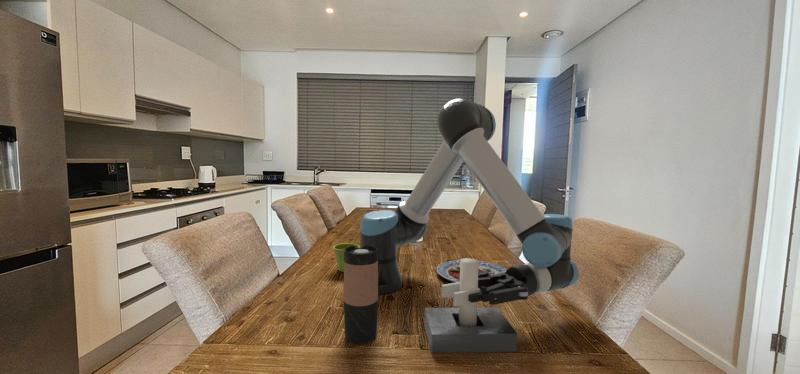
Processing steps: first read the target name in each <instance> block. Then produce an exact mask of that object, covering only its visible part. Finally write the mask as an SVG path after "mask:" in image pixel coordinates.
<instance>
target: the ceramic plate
mask: <svg viewBox="0 0 800 374" xmlns="http://www.w3.org/2000/svg"><path fill="white" fill-rule="evenodd" d="M460 260H461V259H454V260H448V261H445V262H441V263H440V264H438V265H437V267H436V272H437V274H438V275H440V276H441V277H442V278H444V279H446V280H448V281H451V282H452V283H455V282H460ZM478 261H479V265H478V273H481V272H485V271H486V270H490V271H491V274H493V275H496V274H499V273H505V272H506V271H507V269H508V268H506V267H504V266H502V265H499V264H497V263H493V262H489V261H484V260H478Z"/></svg>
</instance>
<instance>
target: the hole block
mask: <svg viewBox="0 0 800 374" xmlns="http://www.w3.org/2000/svg"><path fill="white" fill-rule="evenodd" d="M423 321H424V327H425V331H426V336H427V340H428V345H429V348H430V353H431V354H439V353H440V354H441V353H442V354H443V353H444V354H446V353H447V354H448V353H449V354H451V353H452V354H453V353H454V354H455V353H458V354H459V353H464V354H466V353H517V350H518V349H517V346H518V333H517V331H516V330H515V328H514V327H513V326H512V324H511V323H510V322H509V321H508V319H507V318H506V317H505V315H504V314H503V313H502V312H501V310H500V309H499V307H495V306H494V307H492V306H490V307H488V306H487V307H480V306H479V307H478V306H477V326H474V327H459V307H424V320H423Z"/></svg>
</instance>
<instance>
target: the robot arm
mask: <svg viewBox="0 0 800 374" xmlns="http://www.w3.org/2000/svg"><path fill="white" fill-rule="evenodd" d="M496 127H497V123H496V118H495V115H494V114H493V113H492V111H490V109H488V108H487V107H486V106H484V105H482V104H480V103H476V102H474V101H472V100H468V99H466V98H454V99H451V100H450V101H447V102H446V103H445V104H444V105H443V106H442V107H441V109H440V110H439V112H438V116H437V128H438V132H439V133H440V135H441V139H442V143H441V145H440V146H439V147H438V150H437V152H436V153H435V155H433V158H432V159H431V161H430V162H429V164H428V166H427V168H426V169H425V171H424V173H422V175H421V177H420V179H419V180H418V182H417V183H416V185H415V187H414V188H413V190H412V191H411V193H410V195H409V196H408V198H407V199H406V200H401V201H400V203H399V204H398V205H397V207H396V209H395V210H390V209H389V210H388V209H386V210H385V209H380V210H374V211H370V212H367V213H364V215H362V217H361V219H360V226H359V232H360V235H359V236H360V237H359V238H360V239H359V240H360V241H359V242H360V244H359V246H360V247H359V248H361V247H364V246H365V245H369V246H374V247H376V248H377V249H378V295H383V294H391V293H393V292H397V291H399V290H400V289H401V288H402V286H403V276H402V274H401V270H400V267H399V265H398V258H397V257H398V249H399V248H402V247H403V246H406V245H407V246H408V245H410V244H414V243H416V242H418V241H419V240H421V239H422V238H423V237H424V236H425V234H426V233H427V230H428V225H427V224H428V222H429V221H430V217H429V213H430V212H431V211H432V208H433V207H434V206H435V204H436V203H437V201H438V200H439V198H440V196H441V195H442V194H443V193H444V191H445V190H446V189H447V186H448V185H449V183H450V182H451V181H452V179H453V178H454V176H455V174H456V173H457V172H458V170H459V168H460V167H461V166H462V164H463V163H465V164H466V166H467V167H468V169H469V170H470V172H471V173H472V174H473V176H474V177H475V179H476V181H477V182H478V183H479V185H480V186H481V187H482V189H483V191H484V192H485V193H486V195H487V196H488V197H489V199H490V200H491V202H493V205H494V206H495V207H496V209H497V210H498V212H499V213H500V214H501V216H502V218H504V220H505V222H507V224H508V226H509V227H510V229H511V231H513V233H514V234H515V236H516V237H517V239H518V240H519V241H520V243H521V245H522V246H521V251H522V255H523V258H524V259H525V261H526V263H522V264H516V265H512V266H509V267H507V268H506V269H507V271H506V272H505V273H499V274H496V275H493V274H491V271H490V270H486V271H485V272H481V273H478V288H475V289H470V290H465V291H460V282H451V283H446V284H441V291H440V292H441V294H440V295H441V296H440V297H441V298H443V299H445V298H450V297H453V306H454V307H459V306H460V305H464V304H469V303H474V302H477V303H478V302H483V303H486V302H488V304H489V305H490V306H494V305H495V306H497V305H499V304H505V303H510V302H514V301H519V300H523V301H525V300H528V299H529V298H528V297H529V296H532V295H534V296H535V295H537V294H541V293H545V292H550V291H555V290H560V289H561V290H562V289H565V288H569V287H570V286H572V285H574V284H576V282H578V280H579V276H580V272H579V270H578V265H577V263H576V262H575V261H574V260H572V255H571V253H572V241H573V240H572V237H573V231H574V229H573V218H572V217H570V216H569V215H565V214H557V213H545V214H542V212H541V211H540V210H539V208H538V207H537V206H536V204H535V203H534V201H533V200H532V198H531V197H529V195H528V194H527V192H526V191H525V190H524V188H523V187H522V185H520V183H519V182H518V180H517V179H516V178H515V177H514V175H513V173H512V172H511V171H510V170H509V169H508V167H507V165H506V164H505V163H504V161H503V160H502V159H501V158H500V156H499V155H498V154H497V152H496V151H495V150H494V148H493V147H492V146H491V144H490V143H489V141H490V140H491V139H492V137H493V136H494V134H495V132H496Z"/></svg>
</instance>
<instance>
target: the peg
mask: <svg viewBox="0 0 800 374" xmlns="http://www.w3.org/2000/svg"><path fill="white" fill-rule="evenodd" d="M459 260H460V291H465V290H470V289H475V288H478V265H479V261H480V260H478V259H475V258H471V257H470V258H468V257H467V258H465V257H463V258H461V259H459ZM477 307H478V302H474V303H469V304H464V305H460V306H458V308H459V327H474V326H477Z"/></svg>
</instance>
